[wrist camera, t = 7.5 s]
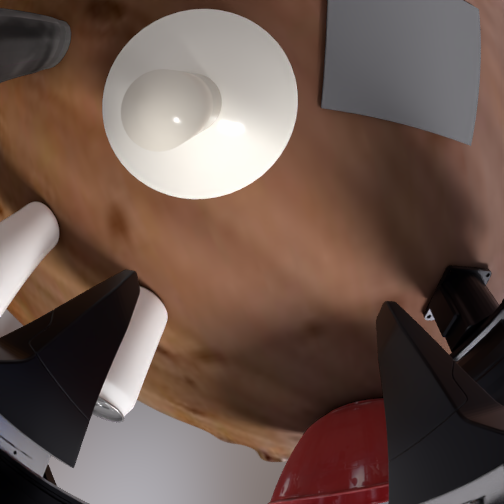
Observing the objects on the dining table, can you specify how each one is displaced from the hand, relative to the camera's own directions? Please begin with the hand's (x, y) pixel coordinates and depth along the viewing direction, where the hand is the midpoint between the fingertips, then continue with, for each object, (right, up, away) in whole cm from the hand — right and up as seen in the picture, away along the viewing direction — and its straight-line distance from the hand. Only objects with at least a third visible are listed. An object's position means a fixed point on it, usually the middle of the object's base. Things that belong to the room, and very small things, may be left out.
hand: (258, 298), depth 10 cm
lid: (-3, +9, +3) cm, 10 cm away
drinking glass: (-21, +5, +13) cm, 25 cm away
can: (-12, -4, +18) cm, 21 cm away
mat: (+10, +15, +3) cm, 19 cm away
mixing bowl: (+17, -25, +28) cm, 41 cm away
